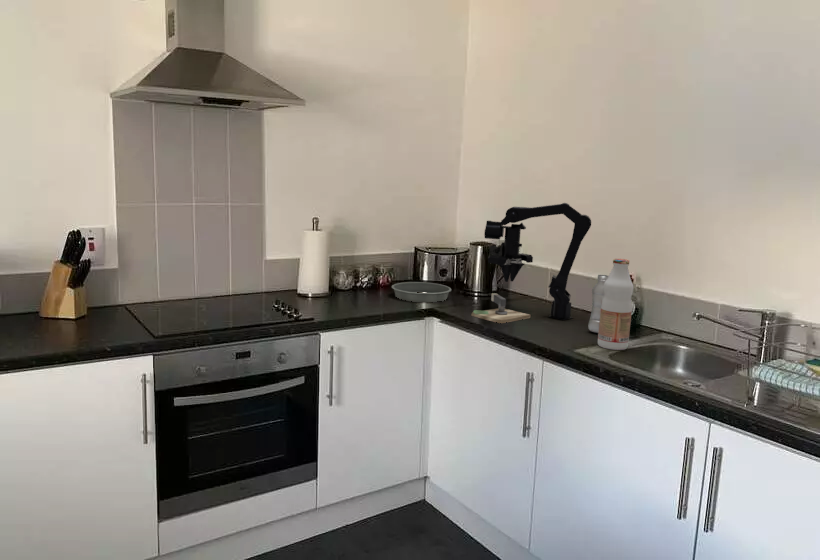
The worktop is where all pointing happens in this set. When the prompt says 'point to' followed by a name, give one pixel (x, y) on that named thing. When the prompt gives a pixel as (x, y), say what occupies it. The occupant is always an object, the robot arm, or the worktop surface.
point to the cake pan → (411, 288)
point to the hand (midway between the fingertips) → (509, 281)
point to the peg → (499, 301)
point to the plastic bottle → (597, 303)
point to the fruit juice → (616, 308)
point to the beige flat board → (500, 315)
